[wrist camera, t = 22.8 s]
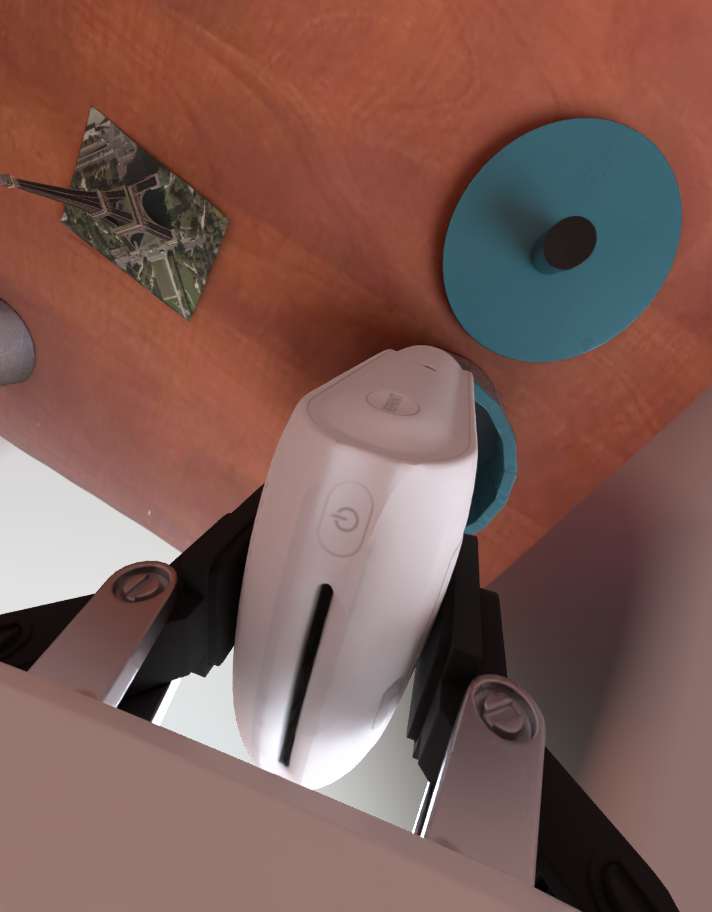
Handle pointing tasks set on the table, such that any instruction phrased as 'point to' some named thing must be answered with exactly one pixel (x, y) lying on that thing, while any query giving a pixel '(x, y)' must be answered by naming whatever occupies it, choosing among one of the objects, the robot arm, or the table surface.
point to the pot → (489, 451)
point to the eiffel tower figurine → (138, 215)
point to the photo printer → (351, 559)
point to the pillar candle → (14, 347)
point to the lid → (562, 239)
